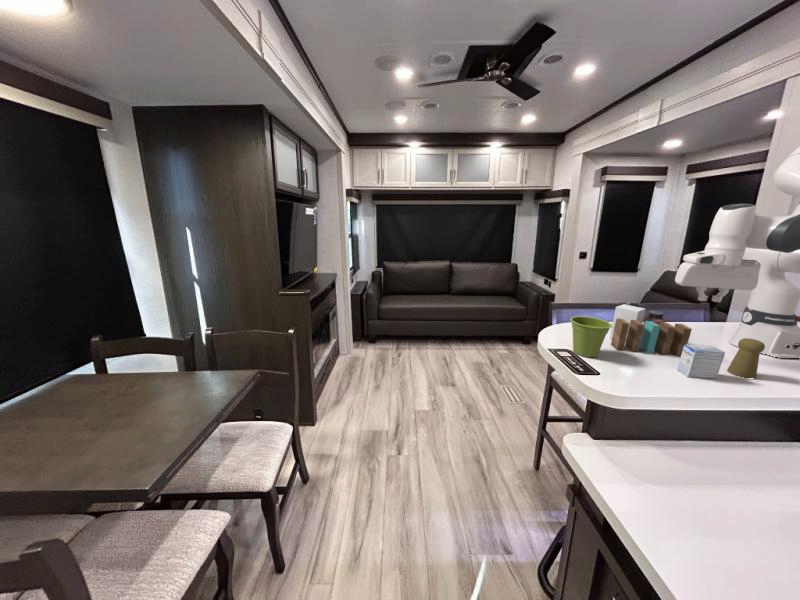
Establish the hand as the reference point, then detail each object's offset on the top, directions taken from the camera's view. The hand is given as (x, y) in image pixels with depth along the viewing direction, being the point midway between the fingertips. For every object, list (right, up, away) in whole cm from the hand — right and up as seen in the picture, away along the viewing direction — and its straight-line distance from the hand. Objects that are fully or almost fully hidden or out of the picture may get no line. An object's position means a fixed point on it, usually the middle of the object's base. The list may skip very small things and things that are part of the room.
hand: (708, 301), depth 101 cm
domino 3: (-14, -17, +8) cm, 24 cm away
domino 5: (-5, -18, +6) cm, 20 cm away
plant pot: (-37, -18, +4) cm, 42 cm away
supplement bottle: (-6, -15, +17) cm, 23 cm away
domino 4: (-10, -18, +7) cm, 21 cm away
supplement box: (-15, -15, +18) cm, 27 cm away
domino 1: (-23, -16, +10) cm, 30 cm away
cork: (+3, -22, -7) cm, 23 cm away
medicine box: (-12, -22, -8) cm, 26 cm away
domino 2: (-19, -17, +9) cm, 27 cm away
